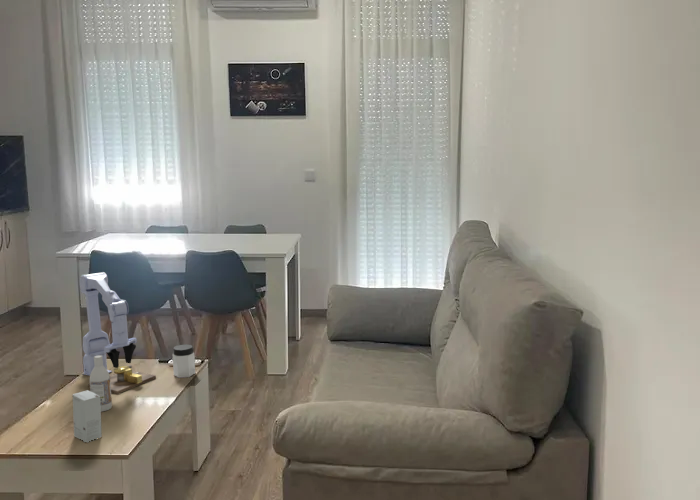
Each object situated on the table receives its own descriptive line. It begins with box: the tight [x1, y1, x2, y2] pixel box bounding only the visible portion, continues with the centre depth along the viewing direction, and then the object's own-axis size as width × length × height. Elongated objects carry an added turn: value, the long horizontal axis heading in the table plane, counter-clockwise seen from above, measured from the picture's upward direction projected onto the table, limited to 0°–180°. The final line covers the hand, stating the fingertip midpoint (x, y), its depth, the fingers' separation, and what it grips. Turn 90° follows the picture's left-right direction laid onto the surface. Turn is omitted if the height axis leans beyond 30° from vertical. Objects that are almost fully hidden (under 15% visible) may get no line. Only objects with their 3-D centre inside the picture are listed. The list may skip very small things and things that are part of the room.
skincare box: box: [72, 389, 103, 443], centre depth 217 cm, size 8×6×15 cm
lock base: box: [87, 364, 157, 395], centre depth 269 cm, size 17×20×4 cm
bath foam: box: [89, 355, 113, 413], centre depth 241 cm, size 7×7×20 cm
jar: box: [172, 343, 196, 379], centre depth 277 cm, size 9×8×12 cm
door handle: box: [113, 365, 142, 384], centre depth 267 cm, size 13×6×5 cm, turn 61°
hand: (122, 365), depth 259 cm, fingers open, 6 cm apart
